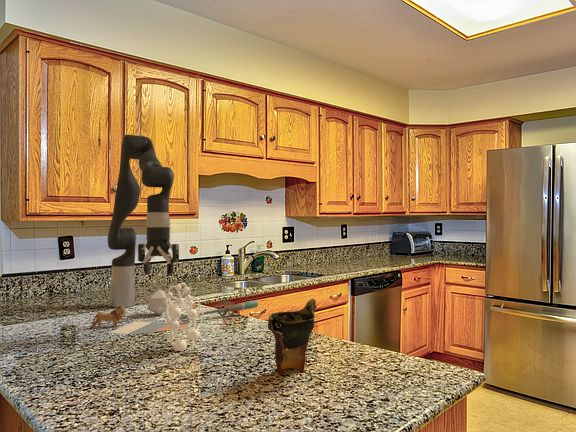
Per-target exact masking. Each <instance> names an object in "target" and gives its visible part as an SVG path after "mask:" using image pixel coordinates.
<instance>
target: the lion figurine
mask: <svg viewBox="0 0 576 432" xmlns="http://www.w3.org/2000/svg"><path fill="white" fill-rule="evenodd" d="M126 308H127V307H124V306H119V307H117V308H116V307H115V309H112V311H110V312H108V313H107V312H97V314H95V315H94V317H93V321H92V324H91V326H90V327H89V330H91V329H92V328H93V329H97V326H98V328H99V330H103V329H104V327H102V325H101V324H102V322H103V321H104V322H108V323H109V322H112V324H113V325H112V326H113V327H114V328H116V329H118V323H119V322H118V321H122V320H123V318H124V317H125V316H126V313H127V309H126ZM96 325H97V326H96Z"/></svg>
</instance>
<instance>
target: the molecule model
mask: <svg viewBox="0 0 576 432" xmlns="http://www.w3.org/2000/svg"><path fill="white" fill-rule="evenodd" d="M182 285H184V287H183V289H182ZM173 288H174V289H175V291H176V292H177V296H178V297H176V296H174V294H173V293H172V292H171V289H173ZM181 290H182V293H181ZM166 293H167V294H166V298H165V301H164V302H165V305H167V306H166V309H165V312H164V313H165V318H166V321H167V322H166V323H169V325H170V328H171V330H170V331H169V332H170V333H169V337H170V338H169V343H170V345H171V346H172V348H173V350H174V352H177V351H181V352H184V350H185V351H186V350H187V342H186V341H185V340H184V339H182V338H179V339H177V340H175V341H174V336H176V335H177V334H180V330H178V328H179V324H180V321H178V320H177V319H180V317H182V316H181V315H184V316H185V315H187V316H186V317H188V318H187V319H191V320H190V321H188V323H189V324H188V325H186V327H187V330H186V335H187V336H186V337H187V338H188V339H189V340H190V341H196V340H198V338H199V337H200V335H201V332H200V331H199V328H200V326H201V324H202V322H203V320H204V316H205V315H204V314H203V313H204V310H202V308H201V300H200V299H199V298H198V297H197V296H191V288H190V287H188V286H187V283H185V282H180V283H179V284H176V285H172V286H171V285H170V286H169V287H168V291H167V292H166ZM186 293H188V294H187V295H186V296H185V294H186ZM184 296H185V297H184ZM167 298H171V299H172V300H173V299H174V300H175V301H173V302H172V301H171V302H168V303H166V300H167ZM192 299H196V301H198V302H197V303H198V307H196V308H195V309H194V308H193V306H194V304H195V303H194V301H193V300H192ZM184 301H187V306H189V309H188V308H187V306H185V305H184ZM173 305H177V306H173ZM180 307H182V308H183V309H184V310H185V312H187V313H185V312H183V311H182V309H181V308H180ZM168 308H170V309H169V310H168ZM197 310H198V312H197ZM200 313H202V315H201V319H200V321H199V324H198V326H197V327H196V325H197V322H196V318H197V317H199V316H198V315H199V314H200ZM170 319H171V320H170ZM192 324H193V325H192ZM179 329H180V328H179ZM175 331H176V332H175ZM173 341H174V342H173Z"/></svg>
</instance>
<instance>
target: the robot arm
mask: <svg viewBox="0 0 576 432" xmlns="http://www.w3.org/2000/svg"><path fill="white" fill-rule="evenodd" d="M120 148H121V149H120V159H119V160H120V162H119V172H118V177H117V182H116V183H117V184H116V188H115V195H114V205H113V209H112V210H113V212H112V216H111V222H110V226H109V229H108V234H107V246H108V248H109V249H110V250H112V251H119V250H120V251H122V250H125V251H124V253H123V254H121V255H119V256H117V257H115V258H112V260H111V283H109V307H113V308H115V309H116V308H117V307H119V306H124V307H126V308H130V307H131V308H132V307H134V306H136V305H135V304H136V298H135V297H136V284H135V283H136V278H135V277H136V272H135V271H136V267H135V265H136V244H137V242H136V240H137V237H136V234H137V233H136V231H135V229H134V228H132V227H122V225H123V223H124V222H125V220H126V219H127V218H129V216H130V215H131V214H132V213H133V212H134V210H135V209H136V208H137V206H138V204H139V202H140V201H139V200H140V194H141V188H140V185H139V182H138V180H137V178H136V176H135V175H134V173H133V170H132V168H131V163H130V162H131V160H138V167H139V169H140V171H141V176H140V177H141V178H140V179H141V183H142V184H143V186H145V187H147V188H159V189H160V188H161V190H160V192H159V193H154V194H150V195H148V196H147V198H146V243H138V244H137V261H138V262H141V263H143V273H144V275H145V276H147V275H151V263H150V262H151V260H152V259H153V258H154V257H162V258H163V259H164V260H165V261H166V262H167V264H166V274H167V276H172V275H173V273H174V264H175V263H178V262H179V261H180V245H179V243H171V242H170V241H171V240H170V239H171V235H170V234H171V233H170V232H171V230H170V229H171V227H170V226H171V222H170V209H169V207H170V204H169V203H170V196H171V195H170V194H171V191H172V187H173V183H174V181H175V180H174V179H175V174H174V172H173V170H172V169H171V167H168V166H163V165H162V162H161V161H160V160H159V159H158V157H157V154H156V150H155V147H154V143H153V141H152V140H151V138H149V137H148V136H145V135H144V136H143V135H137V134H136V135H135V134H125V135H124V136H123V138H122V141H121V147H120ZM146 250H147V253H146ZM170 250H171V252H170ZM171 253H172V254H171Z"/></svg>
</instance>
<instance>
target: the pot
mask: <svg viewBox="0 0 576 432" xmlns="http://www.w3.org/2000/svg"><path fill="white" fill-rule="evenodd" d="M316 309H317V302H316V299H315V298H310V299H309V300H308V301H306V304H305V306H303V308H301V309H299V310H292V311H278V312H274V313H273V312H272V313H270V315H269V316H268V321H267V322H268V323H267V328H268V330H269V331H271V332H272V335H273V336H274V339H275V340H274V341H275V342H274V343H275V344H274V355H275V356H274V357H275V364H276V370H277V374H279V375H280V376H283V374H284V371H283V370H287V369H297V370H300V371H303V372H304V371H305V367H306V353H307V350H308V346H309V341H310V338H311V334H312V332H313V330H314V327H316V326H315V319H316V315H315V313H316Z"/></svg>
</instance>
